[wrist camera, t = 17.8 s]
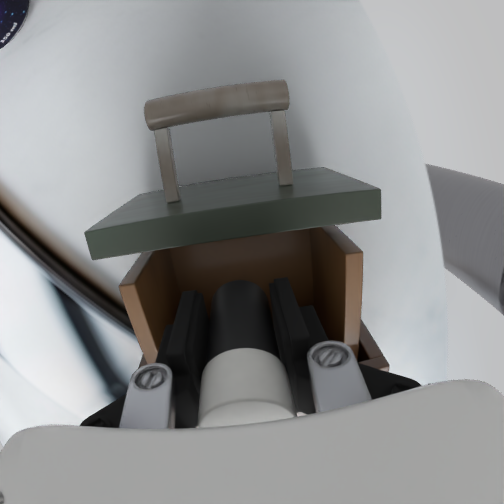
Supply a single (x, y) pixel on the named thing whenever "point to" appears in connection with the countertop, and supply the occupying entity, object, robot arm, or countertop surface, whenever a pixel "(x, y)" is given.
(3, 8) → the beverage can
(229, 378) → the white and black cylinder
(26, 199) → the countertop surface
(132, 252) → the drawer
